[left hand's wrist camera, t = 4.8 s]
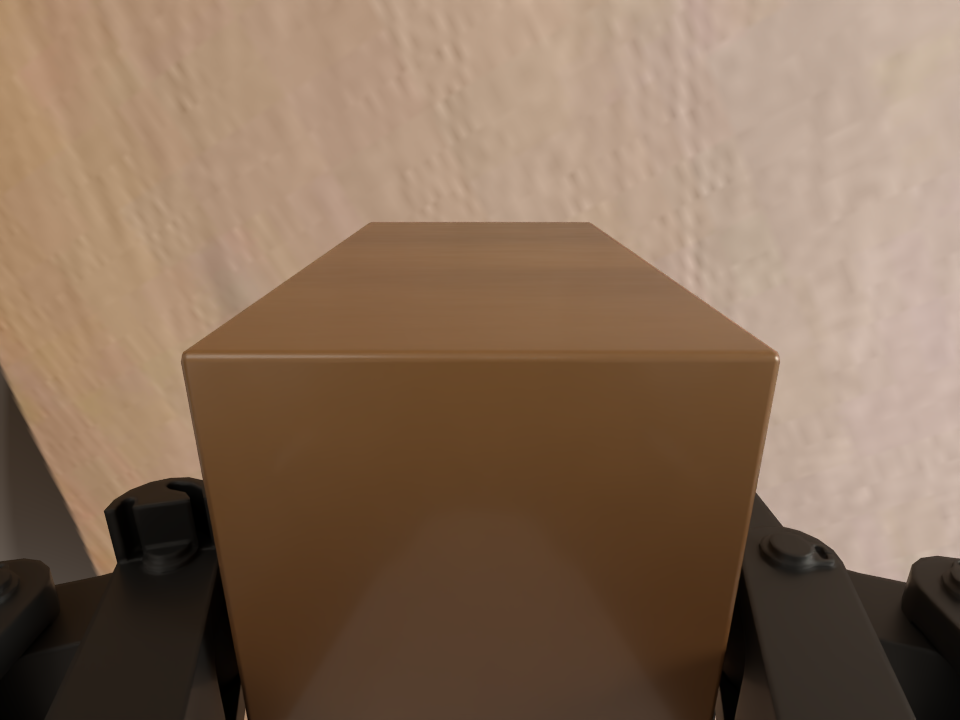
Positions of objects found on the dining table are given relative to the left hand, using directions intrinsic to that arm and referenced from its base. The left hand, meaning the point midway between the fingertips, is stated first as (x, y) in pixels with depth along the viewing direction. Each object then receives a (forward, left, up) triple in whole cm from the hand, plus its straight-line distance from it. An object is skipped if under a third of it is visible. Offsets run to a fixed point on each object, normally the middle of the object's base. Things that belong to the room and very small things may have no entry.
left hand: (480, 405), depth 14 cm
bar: (+10, 0, -1) cm, 10 cm away
